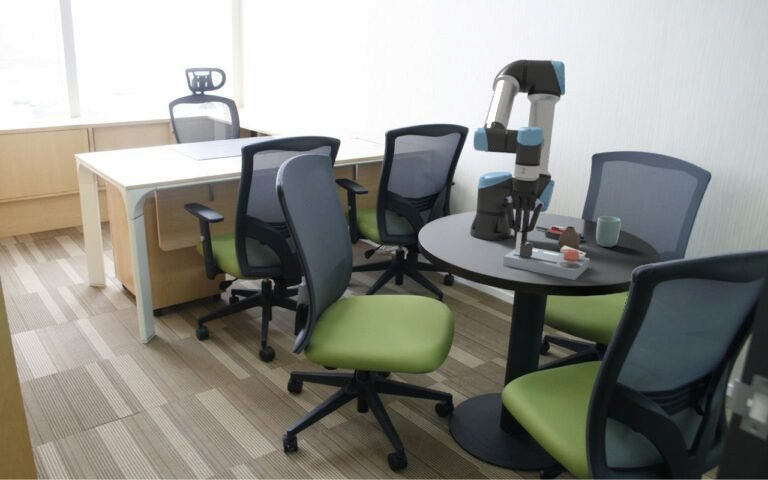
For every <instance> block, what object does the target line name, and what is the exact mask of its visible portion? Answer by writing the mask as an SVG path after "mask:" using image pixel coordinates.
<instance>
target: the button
mask: <svg viewBox="0 0 768 480" xmlns="http://www.w3.org/2000/svg"><path fill="white" fill-rule="evenodd" d="M577 250H578V249H577ZM577 250H573V249H566V250H564V253H563V254H564V257H563V259H564V260H566V261H570V262H576V261H578V257H579V251H580V250H579V251H577Z"/></svg>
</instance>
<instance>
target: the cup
mask: <svg viewBox="0 0 768 480" xmlns="http://www.w3.org/2000/svg"><path fill="white" fill-rule="evenodd" d="M621 224H622V220H621V219H620V218H619V217H615V216H609V215H601V216H598V218H597V224H596V233H595V238H596V243H597V244H598V245H599V246H600V247H605V248H613V247H614V246H616V245H617V243H618V240H619V235H620V231H621Z"/></svg>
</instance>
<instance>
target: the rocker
mask: <svg viewBox="0 0 768 480" xmlns="http://www.w3.org/2000/svg"><path fill="white" fill-rule="evenodd" d="M566 249H573V248H571V247H568V246H563V247H562V248H561V249H559V250H560V251H559V253H563V254H564V250H566ZM573 250H576V249H573ZM577 251H579V257H578V259H583V258H584V257H585V258H586V254H587V253H586V252H584V251H581V250H579V249H577Z"/></svg>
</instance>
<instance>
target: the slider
mask: <svg viewBox="0 0 768 480" xmlns="http://www.w3.org/2000/svg"><path fill="white" fill-rule="evenodd" d="M533 248H534V243H533V242H528V241H526V242H525V243H524V242H523V243H521V246H520V256H523V257H528V258H529V257H530V256H532V250H533Z"/></svg>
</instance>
